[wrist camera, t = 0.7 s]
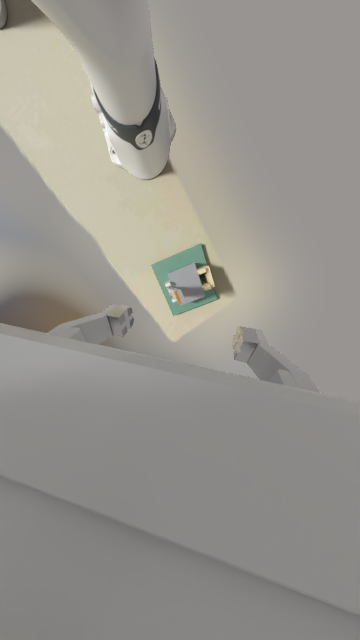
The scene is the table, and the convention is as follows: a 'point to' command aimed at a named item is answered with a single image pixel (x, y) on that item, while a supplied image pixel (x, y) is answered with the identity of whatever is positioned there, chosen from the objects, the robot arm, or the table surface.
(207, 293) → the base
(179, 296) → the retention strap
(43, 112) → the table surface
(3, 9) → the travel mug
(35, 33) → the table surface
